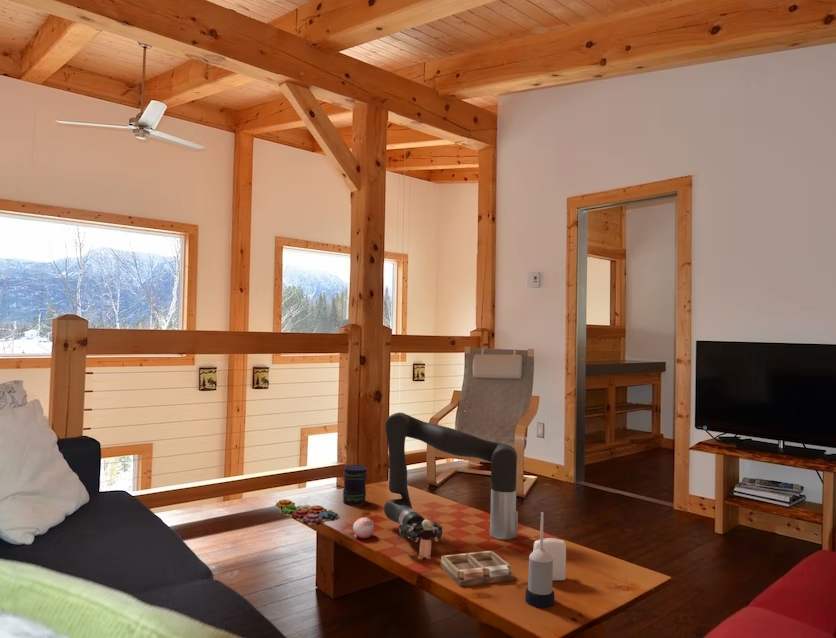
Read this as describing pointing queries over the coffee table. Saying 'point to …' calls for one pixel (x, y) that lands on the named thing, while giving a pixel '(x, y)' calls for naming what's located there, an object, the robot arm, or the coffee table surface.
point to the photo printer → (555, 556)
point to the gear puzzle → (306, 512)
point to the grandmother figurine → (425, 540)
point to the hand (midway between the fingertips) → (427, 537)
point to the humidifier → (540, 576)
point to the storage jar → (354, 485)
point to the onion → (363, 528)
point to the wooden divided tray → (476, 568)
